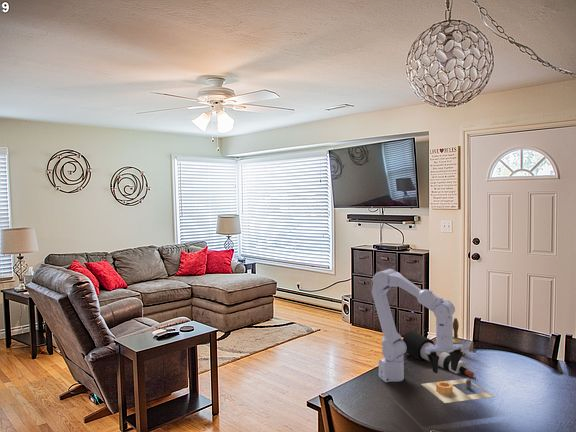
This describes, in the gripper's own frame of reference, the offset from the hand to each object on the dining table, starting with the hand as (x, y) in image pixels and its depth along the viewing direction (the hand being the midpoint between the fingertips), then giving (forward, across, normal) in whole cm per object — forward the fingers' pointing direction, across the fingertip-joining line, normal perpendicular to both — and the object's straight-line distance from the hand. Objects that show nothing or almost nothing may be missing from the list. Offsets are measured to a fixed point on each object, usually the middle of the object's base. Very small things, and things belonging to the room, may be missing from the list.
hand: (444, 371), depth 159 cm
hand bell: (+9, +30, +38) cm, 49 cm away
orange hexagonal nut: (+8, 0, 0) cm, 8 cm away
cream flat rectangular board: (+9, +5, 0) cm, 10 cm away
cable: (+9, +13, +25) cm, 30 cm away
